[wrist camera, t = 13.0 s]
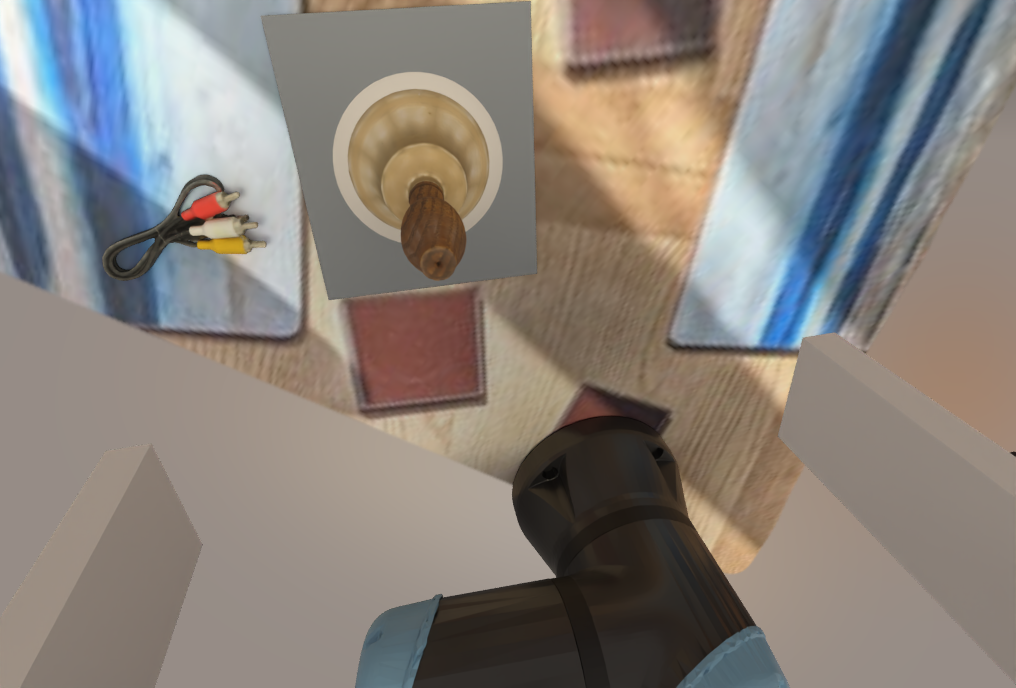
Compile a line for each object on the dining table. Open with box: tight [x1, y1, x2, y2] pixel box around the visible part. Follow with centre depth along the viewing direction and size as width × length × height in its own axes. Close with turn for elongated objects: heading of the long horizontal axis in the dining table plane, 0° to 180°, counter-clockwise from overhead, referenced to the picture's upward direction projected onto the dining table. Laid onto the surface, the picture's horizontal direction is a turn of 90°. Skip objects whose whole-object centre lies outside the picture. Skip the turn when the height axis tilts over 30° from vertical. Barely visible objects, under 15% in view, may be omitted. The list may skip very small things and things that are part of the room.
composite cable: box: [102, 175, 267, 281], centre depth 32 cm, size 10×5×2 cm, turn 104°
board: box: [261, 1, 537, 300], centre depth 34 cm, size 16×14×1 cm
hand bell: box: [348, 89, 490, 281], centre depth 26 cm, size 8×8×16 cm
